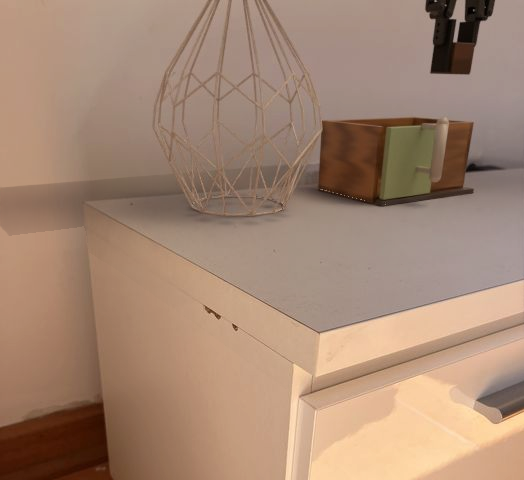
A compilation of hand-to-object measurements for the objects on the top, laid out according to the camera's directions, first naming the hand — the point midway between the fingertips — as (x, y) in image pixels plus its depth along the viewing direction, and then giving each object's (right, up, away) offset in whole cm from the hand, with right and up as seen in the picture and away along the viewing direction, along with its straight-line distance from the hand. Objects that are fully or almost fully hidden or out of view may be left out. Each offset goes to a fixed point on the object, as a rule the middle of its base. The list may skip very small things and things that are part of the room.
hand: (450, 71), depth 83 cm
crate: (-9, -18, -3) cm, 21 cm away
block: (0, 0, 0) cm, 0 cm away
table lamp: (-30, -23, -14) cm, 41 cm away
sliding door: (-8, -22, -12) cm, 26 cm away
